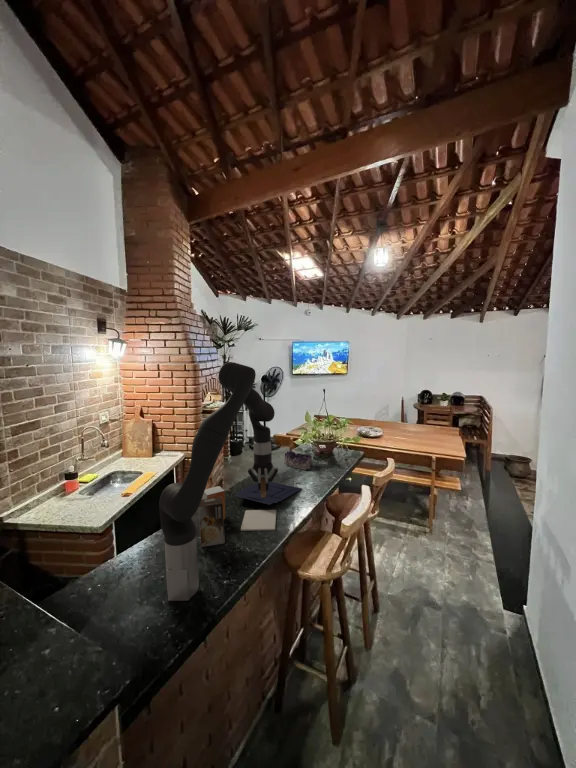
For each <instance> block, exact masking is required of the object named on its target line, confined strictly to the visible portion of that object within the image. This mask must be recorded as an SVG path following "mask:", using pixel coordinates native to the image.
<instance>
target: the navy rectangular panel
mask: <svg viewBox="0 0 576 768" xmlns="http://www.w3.org/2000/svg"><path fill="white" fill-rule="evenodd" d="M301 490H302V488H301V487H297V486H292V485H286V484H281V483H278V482H273V481H272V482H269V489H268V490H267V491H266V497H261V492H260V490H259V489H258V482H255V483H254V484H252V485H249V486H247V487H244V488H243V489H241V490H239V491H238V492H236V493H235V494H234V495H233V497H238V498H241V499H246V500H249V501H254V502H258V503H261V504H265V505H269V506H270V505H272V504H274V503H275V504H277V503H279V502H282V501H284V500H285V499H287V498H289V497H290V496H292V495H293V494H295V493H297V492H299V491H301Z"/></svg>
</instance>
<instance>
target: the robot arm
mask: <svg viewBox="0 0 576 768" xmlns="http://www.w3.org/2000/svg"><path fill="white" fill-rule="evenodd" d="M256 374H257V373H256V370H255V368H254V367H251V366H248V365H244V364H240V363H237V362H233V361H227V362H225V363H224V364H222V365H221V367H220V369H219V371H218V375H217V376H218V382H219V384H220V385H221V386H222V387H223V388H224V389H226V390H228V391H229V392H230V393H231V395H230V396H229V398H228V399H227V400H226V402H225V403H224V404H222V405H221V406H220V407H218V408H217V409H216V410H214V411H213V412H212V413H210V414H209V415H208V416H207V417H205V418H204V420H202V422H201V423H200V426H199V428H198V429H197V432H196V434H195V436H194V438H193V442H192V444H191V445H192V446H191V454H190V464H189V468H188V472H187V474H186V476H185V478H184V481H183V482H182V483H180V482H173V483H171V484H168V485H167V486H166V487H165V488H164V489H163V490H162V492H161V494H160V495H159V496H160V497H159V500H158V501H159V503H158V508H159V518H160V528H161V531H162V534H163V537H164V555H165V556H164V557H165V571H166V572H165V574H166V589H167V600H168V601H169V602H171V601H172V602H173V601H175V602H176V601H177V602H178V601H179V602H181V601H182V602H183V601H185V602H186V601H190V599H191V598H192V597H193V596H194V595H196V593H197V592H198V591H199V586H200V584H199V567H198V566H199V564H198V563H199V562H198V561H199V560H198V546H197V545H198V543H197V541H198V540H197V526H196V523H195V521H194V520H193V516H194V515H196V513H197V511H198V510H199V505H200V502H201V500H202V499H203V494H204V491H205V489H207V488H206V487H207V484H208V481H209V479H210V476H211V473H212V472H213V469H214V467H215V465H216V463H217V459H219V456H220V454H221V452H222V450H223V447H224V445H225V443H226V441H227V439H228V436H229V434H230V431H231V430H232V427H233V424H234V423H235V420H236V418H237V416H238V414H239V413H240V410H241V408H242V407H243V405H244V406H245V408H246V409H247V410H248V417H249V421H250V423H251V426H252V431H253V449H252V450H253V451H252V452H253V466H252V467H249V468H248V469H247V473H248V474H249V476H250V477H251V479H252V480H253V483H258V489H259V490H260V488H261V477H262V476H264V477H265V481H266V491H267V490H268V489H269V482H273V480H274V479H275V477H276V475H277V474H278V472H279V468H278V467H275V466H273V465H274V464H273V460H272V458H273V457H272V456H273V455H272V442H271V441H272V440H271V429H270V427H269V426H266V425H263V424H261V422H264V423H265V422H268V423H269V422H271V421H272V420H274V417H275V409H274V407H273V405H272V404H270V403H269V402H268V401H266V400H264V399H263V398H262V396H261V395H260V393H259V392H258V391H257V390H255V389H254V388H253V387H254V384H255V380H256ZM271 471H272V474H271V475H270V477H269V474H270V472H271ZM255 472H256V474H257V475H256V474H255Z"/></svg>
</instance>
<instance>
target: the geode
mask: <svg viewBox="0 0 576 768" xmlns="http://www.w3.org/2000/svg"><path fill="white" fill-rule="evenodd" d="M283 461H284V465H285V464H286V465H287V467H290V466H291V467H290V468H294V469H297V468H299V469H298V470H304V471H309V470H311V467H312V465H313V458H312V455H311V454H306V453H299V452H298V453H297V452H295V451H293V450H289V451H286V452H285V453H284V460H283ZM286 465H285V466H286Z"/></svg>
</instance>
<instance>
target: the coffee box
mask: <svg viewBox="0 0 576 768" xmlns="http://www.w3.org/2000/svg"><path fill="white" fill-rule="evenodd" d="M198 521H199V538H200V540H199V541H200V547H201V548H203V547H204V548H206V547H210V546H216V545H221V544H225V541H226V540H225V539H226V537H225V523H224V521H225V519H224V518H223V503H222V499H221V497H217V498H210V499H203V498H202V500H201V502H200V505H199V507H198Z"/></svg>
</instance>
